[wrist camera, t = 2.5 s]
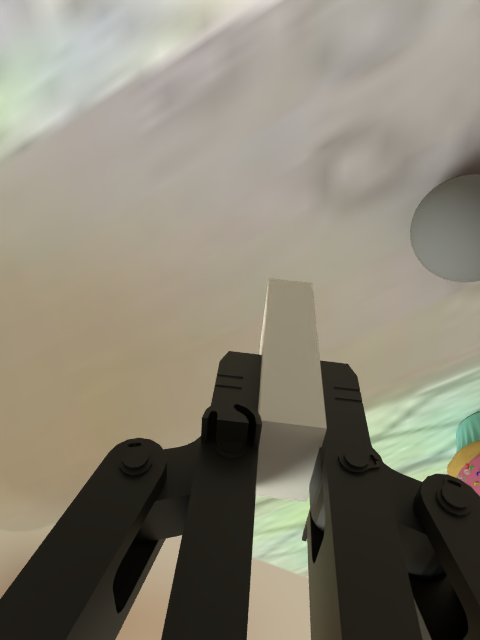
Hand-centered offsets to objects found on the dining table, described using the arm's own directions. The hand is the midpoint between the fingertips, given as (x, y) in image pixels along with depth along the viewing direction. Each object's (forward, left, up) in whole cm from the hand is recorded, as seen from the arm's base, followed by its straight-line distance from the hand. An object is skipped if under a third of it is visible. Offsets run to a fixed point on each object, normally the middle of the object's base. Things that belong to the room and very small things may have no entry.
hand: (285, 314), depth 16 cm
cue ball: (0, +9, -9) cm, 13 cm away
